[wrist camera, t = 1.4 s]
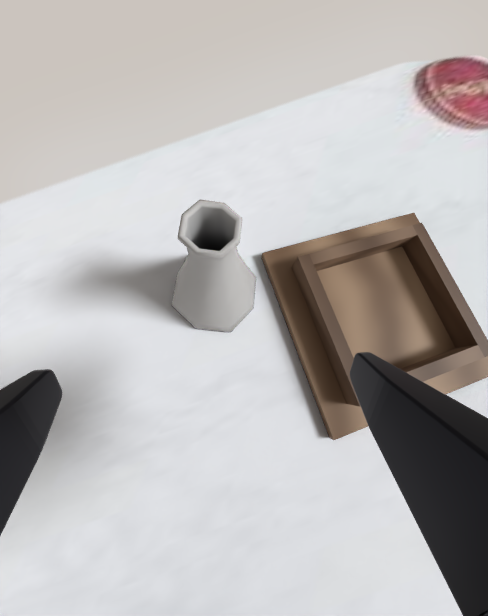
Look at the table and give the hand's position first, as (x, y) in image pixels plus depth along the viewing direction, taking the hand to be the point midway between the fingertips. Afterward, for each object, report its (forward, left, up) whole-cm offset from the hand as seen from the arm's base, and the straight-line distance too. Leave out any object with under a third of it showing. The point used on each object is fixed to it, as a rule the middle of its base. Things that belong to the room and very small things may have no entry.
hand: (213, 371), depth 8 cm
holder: (+15, +1, -13) cm, 20 cm away
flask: (+2, +7, -13) cm, 15 cm away
